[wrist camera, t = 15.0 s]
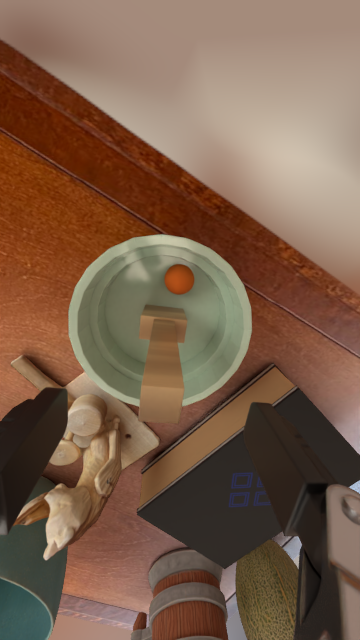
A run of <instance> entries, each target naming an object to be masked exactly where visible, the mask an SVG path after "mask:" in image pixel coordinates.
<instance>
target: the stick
mask: <svg viewBox="0 0 360 640" xmlns="http://www.w3.org/2000/svg"><path fill="white" fill-rule="evenodd" d="M186 328H187V318H186V315H185V312H184V310H183V309H181V308H173V307H164V306H155V305H147V304H146V305H145V307H144V309H143V312H142V314H141V318H140V330H139V339H147V340H150V342H149V347H148V353H147V358H146V363H145V369H144V374H143V379H142V385H141V394H140V405H139V415H138V421H141V422H158V423H175V424H179V421H180V415H181V408H182V402H183V396H184V390H185V389H184V382H183V375H182V368H181V362H180V355H179V348H178V343H184V341H185V334H186Z"/></svg>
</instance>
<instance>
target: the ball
mask: <svg viewBox="0 0 360 640" xmlns="http://www.w3.org/2000/svg"><path fill="white" fill-rule="evenodd" d="M164 280H165V285H166V287H167V289H168V290H169V291H170V292H172V293H174V294H177V295H181V294H185V293H187V292H189V291H190V290H191V288H192V287H193V285H194V274H193V272H192V270H191V269H190V268H189V267H187V266H185V265H182V264H176V265H173V266H172V267H170V268H169V269H168V270H167V272H166V274H165V279H164Z"/></svg>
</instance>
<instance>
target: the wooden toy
mask: <svg viewBox="0 0 360 640" xmlns="http://www.w3.org/2000/svg"><path fill="white" fill-rule="evenodd" d="M11 366H12V367H14V368H15V369H16V370H17V371H18V372H19V373H20V374H22V375H23V376H24V377H25V378H26V379H27V380H29V381H30V382H31V383H32V384H33V385H34V386H35V387H36V388H38V390H39V391H42V390H43V389H44V388H45V387H54V388H66V389H67V392H68V424H67V428H66V431H65V433H64V436H63V437H64V438H65V440H62V439H61V441H60V443H59V445H58V446H57V448H56V450H55V452H54V453H53V455H52V457H51V459H50V461H49V462H50V463H51V464H53V465H58V466H65V465H68V464H71V463H73V462H75V461H76V460H77V459H78V458H79V457H80V456H81V455H82V454H83V472H82V474H81V476H80V479H79V481H78V483H77V486H76V487H75V488H68V487H66V485H65V484H62V483H61V484H59V485H57V486H56V487H55V489H52V490H51V491H50V492H46V493H44V494H42V495H40V496H39V497H36V498H35V499H33V500H32V501H30V502H29V503H28V504H26V505H25V506H24V507H23V509H22V510H21V512H20V514H19V516H18V517H17V519H16V521H15V523H14V525H18V524H21V525H29V524H31V523H34V522H36V521H38V520H40V519H43V518H47V517H49V518H48V521H47V523H46V536H47V543H48V546H47V548H46V549H45V552H44V556H43V557H44V559H45V560H48V559H50V558H51V557H52V556H54V555H55V553H57V552H58V551H60V550H62V549H64V548H65V547H67V546H68V545H70V544H72V543H74V542H75V541H77V540H78V539H79V538H80V537H81V536H82V535H83V534H84V533H85V532H86V531H87V530H88V529H89V528H90V527H91V526H92V525H93V524H94V523H95V522H96V521H97V520H98V518H99V516H100V514H101V512H102V510H103V508H104V506H105V504H106V503H107V501H108V498H109V497H110V495H111V493H112V492H113V490H114V487H115V486H116V484H117V481H118V479H119V477H120V474H121V471H122V470H123V469H124V468H126V467H127V466H129V465H131V464H132V463H134V462H135V461H137V460H138V459H140V458H141V457H143V456H144V455H145V454H146V453H148V452H150V451H152V450H153V449H155V448H157V447H158V445H159V444H160V439H159V437H158V436H157V435H156V434H155V433H154V432H153V431H152V430H151V429H150V428H149V427H148V426H147V425H146V424H145V423H144V422H141V421H138V416H137V415H136V414H135V413H134V412H133V411H132V410H131V409H130V408H129V407H128V406H127V405H126V404H125V403H124V402H123V401H121V400H119V399H117V398H116V397H114V396H112V395H110V394H109V393H107V392H105V391H104V390H102V389H101V388H100V387H99V386H98V385H97V384H96V383H95V382H94V381H93V380H92V379H91V378H90V377H88V375H87V374H86V372H85V371H84V372H83V373H82V374H81V375H79V376H78V377H77V378H75V379H74V380H73V381H71V382H70V383H69V384H68V385H66V386H65V387H61V386H60V385H58V384H57V383H56V382H54V381H53V380H52V379H50V378H48V377H47V376H46V375H44V374H43V373H42V372H41V371H40V370H39V369H38V368H36V367H35V366H34V365H33V363H32V362H31V361H29V360H28V359H27V358H26V356H25V355H21V356H19V357H18V358H17V359H15V360H13V361H12V362H11ZM14 525H13V526H14Z"/></svg>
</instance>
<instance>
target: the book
mask: <svg viewBox="0 0 360 640" xmlns="http://www.w3.org/2000/svg"><path fill="white" fill-rule="evenodd" d="M252 402H262V403H270V404H271V405H272V406H273V407H274V408H275V410H276V411H277V413H278V414H279V415H280V416H283V417H284V418H286V419H287V420H288V421H289V422H290V423H292V424H293V425H294V426H295V428H296V429H297V430H298V432H299V433H300V434H301V435H302V438H304V439H305V441H306V442H307V443H308V445H309V447H311V448H312V450H313V451H314V452H315V454H316V455H317V456H318V458H319V459H320V460H321V461H322V463H323V464H324V465H325V467H326V468H327V469H328V471H329V472H330V473H331V474H332V476H333V477H334V478H335V480H336V481H337V482H338V484H339V485H343V486H346V487H350V486H351V485H353V484H354V483H356V482H357V481H359V480H360V455H359V454H358V453H357V452H356V451H355V450H354V448H353V447H352V446H351V445H350V444H349V443H348V442H347V441H346V440H345V439H344V437H343V436H342V435H341V434H340V433H339V432H338V431H337V430H336V429H335V427H334V426H333V425H332V424H331V423H330V422H329V421H328V420H327V419H326V417H325V416H324V415H323V414H322V413H321V412H320V411H319V410H318V409H317V408H316V406H315V405H314V404H313V403H312V402H311V401H310V400H309V399H308V398H307V396H306V395H305V394H304V393H303V392H302V391H301V390H300V389H299V388H298V387H297V386H294V385H293V384H292V383H291V382H290V381H289V380H288V378H287V377H286V376H285V375H284V374H283V373H282V372H281V371H280V370H279V369H278V367H277V366H276V365H275V364H274V363H272V364H271V365H270V366H268V367H267V368H266V369H265V370H263V371H262V372H261V373H260V374H259V375H257V376H256V377H255V378H254V379H252V380H251V381H250V382H249V383H247V384H246V385H245V386H244V387H243V388H241V389H240V390H239V391H238V392H236V393H235V394H234V395H233V396H232V397H230V398H229V399H228V400H227V401H225V402H224V403H223V404H222V405H220V406H219V407H218V408H217V409H216V410H214V411H213V412H212V413H211V414H209V415H208V416H207V417H206V418H205V419H203V420H202V421H201V422H200V423H198V424H197V425H196V426H195V427H193V428H192V429H191V430H190V431H189V432H187V433H186V434H185V435H184V436H182V437H181V438H180V439H179V440H178V441H176V442H175V443H174V444H173V445H171V446H170V447H169V448H168V449H166V450H165V451H164V452H163V453H162V454H160V455H159V456H158V457H157V458H155V459H154V460H153V461H152V462H150V463H149V464H148V465H147V466H146V467H144V468H143V469H142V473H141V474H143V475H142V485H141V494H140V504H139V508H138V509H137V513H138V514H137V515H138V516H140V517H141V518H143V519H145V520H146V521H148V522H149V523H151V524H153V525H154V526H156V527H158V528H159V529H161V530H162V531H164V532H166V533H167V534H169V535H171V536H172V537H174V538H175V539H177V540H179V541H180V542H182V543H184V544H185V545H187V546H188V547H190V548H192V549H193V550H195V551H197V552H198V553H200V554H201V555H203V556H205V557H206V558H208V559H209V560H211V561H213V562H214V563H216V564H218V565H219V566H221V567H222V568H224V569H226V568H227V567H229V566H230V565H232V564H233V563H235V562H236V561H238V560H239V559H241V558H242V557H244V556H245V555H247V554H248V553H250V552H251V551H253V550H254V549H256V548H257V547H259V546H260V545H262V544H263V543H265V542H266V541H268V540H269V539H271V538H272V537H274V536H276V535H277V534H279V533H280V532H282V529H281V526H280V524H279V522H278V519H277V517H276V515H275V512H274V510H273V508H272V506H271V503H270V501H269V499H268V496H267V494H266V492H265V489H264V487H263V485H262V482H261V480H260V478H259V475H258V473H257V471H256V468H255V466H254V464H253V462H252V459H251V457H250V455H249V452H248V450H247V448H246V445H245V442H244V436H243V432H244V427H245V423H246V419H247V415H248V412H249V408H250V405H251V403H252Z"/></svg>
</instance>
